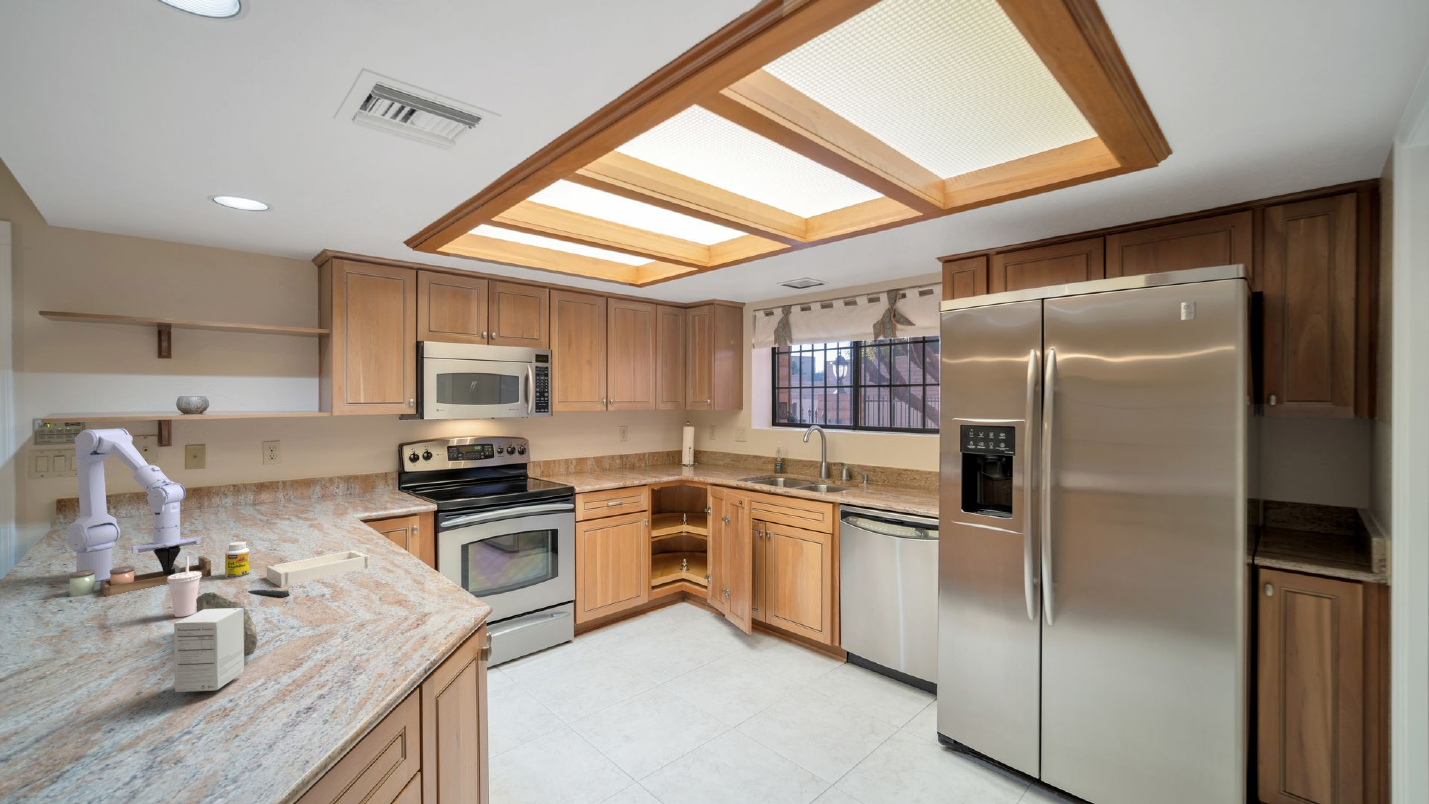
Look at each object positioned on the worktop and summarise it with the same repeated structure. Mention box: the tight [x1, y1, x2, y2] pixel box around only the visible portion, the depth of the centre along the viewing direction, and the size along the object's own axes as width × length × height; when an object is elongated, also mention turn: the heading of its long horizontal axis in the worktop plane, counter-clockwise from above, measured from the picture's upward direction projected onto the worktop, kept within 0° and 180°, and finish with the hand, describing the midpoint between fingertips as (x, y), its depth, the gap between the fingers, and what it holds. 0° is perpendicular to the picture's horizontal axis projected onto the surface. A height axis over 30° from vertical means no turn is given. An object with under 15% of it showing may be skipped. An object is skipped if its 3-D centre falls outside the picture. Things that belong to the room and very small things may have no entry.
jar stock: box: [109, 565, 135, 586], centre depth 163 cm, size 5×5×6 cm
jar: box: [68, 570, 96, 598], centre depth 160 cm, size 5×5×6 cm
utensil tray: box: [266, 549, 371, 588], centre depth 178 cm, size 12×23×4 cm, turn 143°
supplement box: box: [173, 608, 245, 693], centre depth 110 cm, size 7×7×13 cm
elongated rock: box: [195, 591, 259, 657], centre depth 127 cm, size 35×5×10 cm, turn 55°
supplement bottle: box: [224, 541, 250, 580], centre depth 175 cm, size 6×6×10 cm
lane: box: [99, 555, 212, 598], centre depth 169 cm, size 9×22×5 cm, turn 143°
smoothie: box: [167, 555, 202, 618], centre depth 145 cm, size 6×6×14 cm
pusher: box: [170, 563, 182, 575], centre depth 172 cm, size 6×2×4 cm, turn 53°
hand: (167, 573), depth 171 cm, fingers closed
